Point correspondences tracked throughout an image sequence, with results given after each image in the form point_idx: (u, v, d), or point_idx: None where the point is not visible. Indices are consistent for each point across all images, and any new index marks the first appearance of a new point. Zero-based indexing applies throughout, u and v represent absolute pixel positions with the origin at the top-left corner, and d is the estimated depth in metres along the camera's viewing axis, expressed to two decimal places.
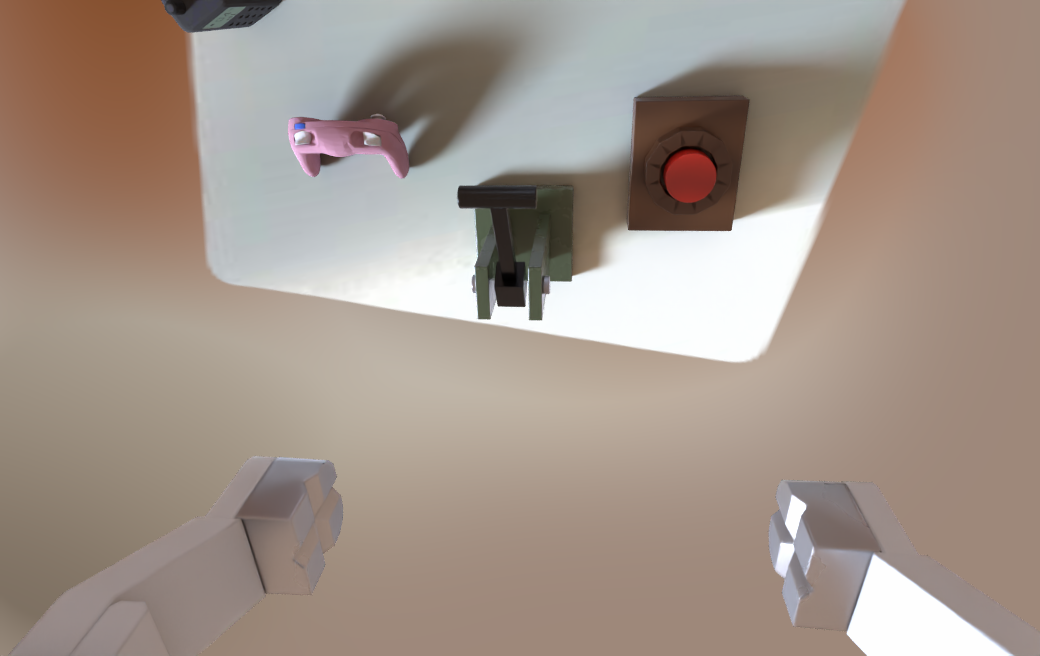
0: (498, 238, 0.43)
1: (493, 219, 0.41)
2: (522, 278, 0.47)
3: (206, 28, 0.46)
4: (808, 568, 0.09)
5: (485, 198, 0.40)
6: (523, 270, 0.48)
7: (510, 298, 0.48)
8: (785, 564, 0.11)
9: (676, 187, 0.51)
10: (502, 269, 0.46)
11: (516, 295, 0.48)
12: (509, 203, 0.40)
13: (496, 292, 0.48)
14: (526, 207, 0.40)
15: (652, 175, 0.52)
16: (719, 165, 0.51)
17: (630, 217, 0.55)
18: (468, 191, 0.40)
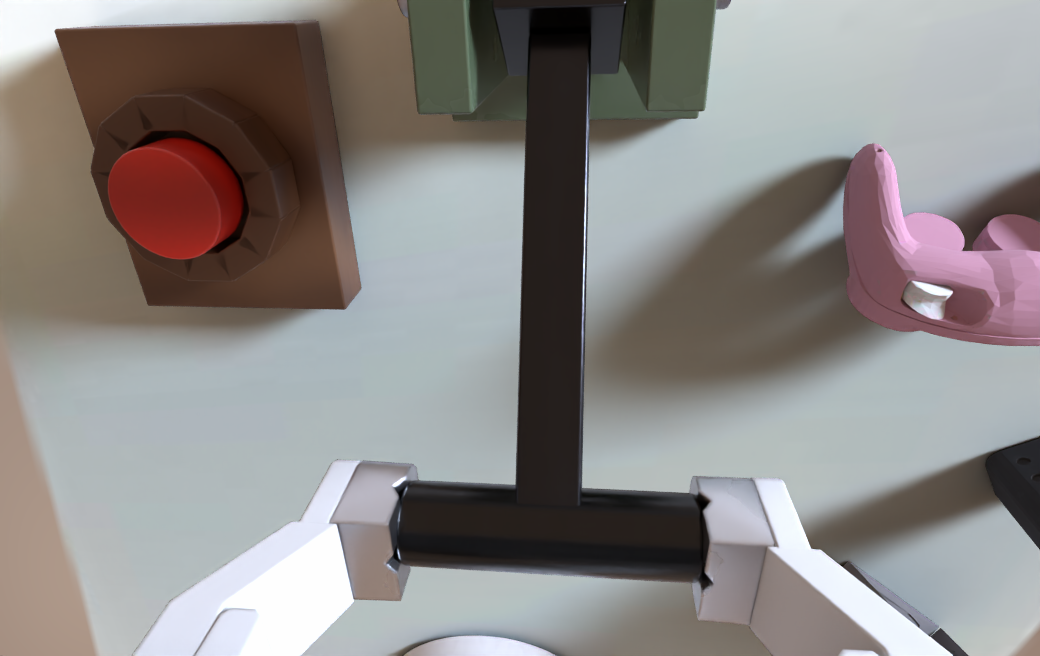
0: (572, 314, 0.10)
1: (574, 440, 0.10)
2: (502, 35, 0.11)
3: None
4: (706, 562, 0.10)
5: (589, 570, 0.10)
6: (506, 54, 0.12)
7: None
8: None
9: (187, 184, 0.21)
10: (579, 103, 0.11)
11: None
12: (496, 550, 0.10)
13: None
14: (433, 519, 0.10)
15: (260, 192, 0.23)
16: None
17: (298, 61, 0.22)
18: None
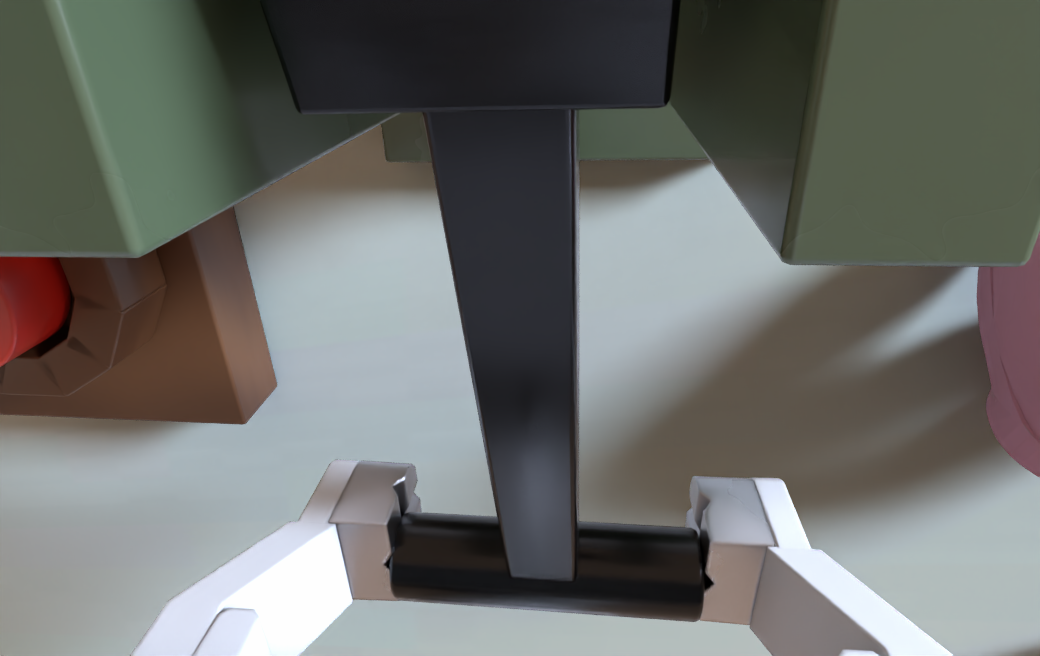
0: (558, 472, 0.08)
1: (567, 552, 0.09)
2: None
3: None
4: (707, 562, 0.10)
5: None
6: None
7: None
8: None
9: None
10: (554, 230, 0.05)
11: None
12: None
13: None
14: (426, 590, 0.10)
15: (86, 273, 0.15)
16: None
17: None
18: None
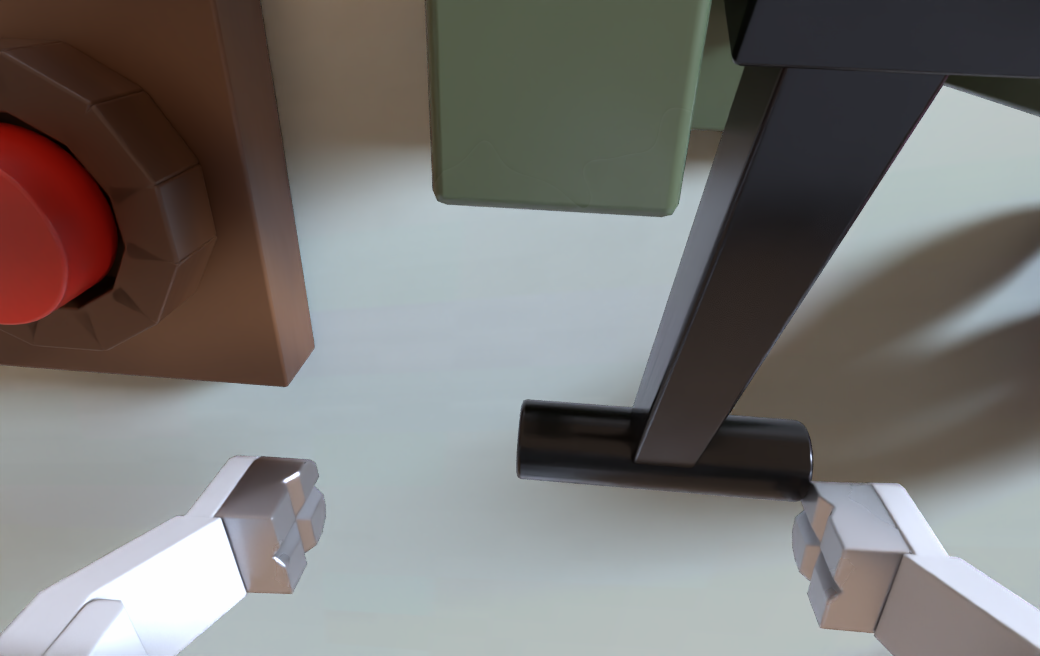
0: (733, 382, 0.08)
1: (702, 445, 0.10)
2: None
3: None
4: (836, 569, 0.09)
5: None
6: None
7: None
8: (810, 565, 0.11)
9: (2, 208, 0.12)
10: (869, 172, 0.05)
11: None
12: (610, 486, 0.11)
13: None
14: (552, 471, 0.11)
15: (141, 220, 0.14)
16: None
17: (208, 3, 0.13)
18: None
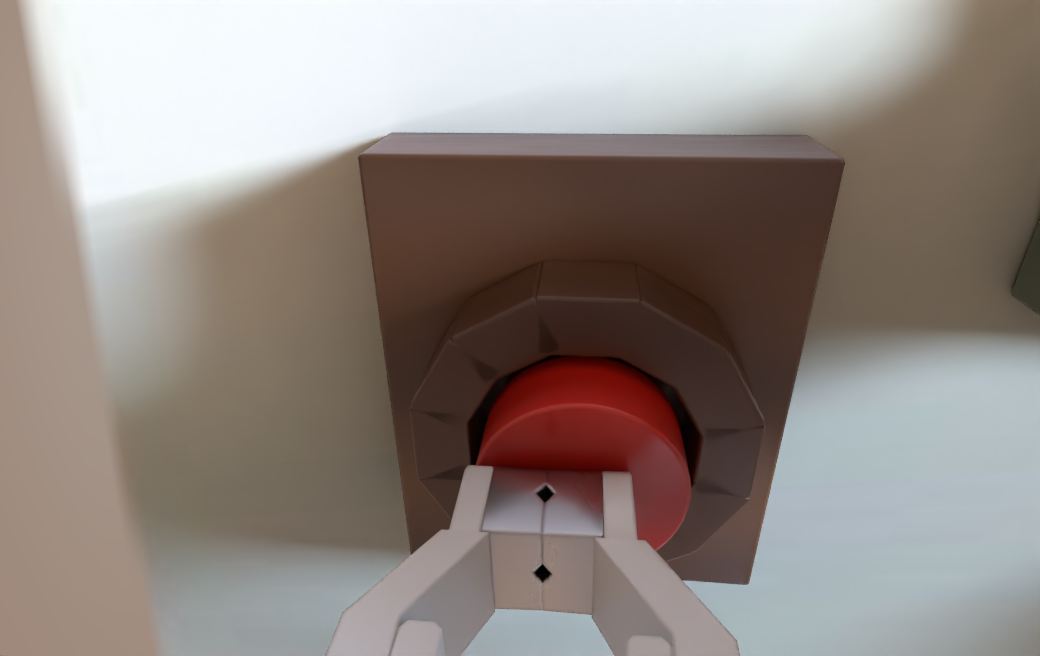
0: None
1: None
2: None
3: None
4: (542, 553, 0.10)
5: None
6: None
7: None
8: None
9: (643, 467, 0.11)
10: None
11: None
12: None
13: None
14: None
15: (729, 458, 0.12)
16: None
17: (825, 225, 0.12)
18: None
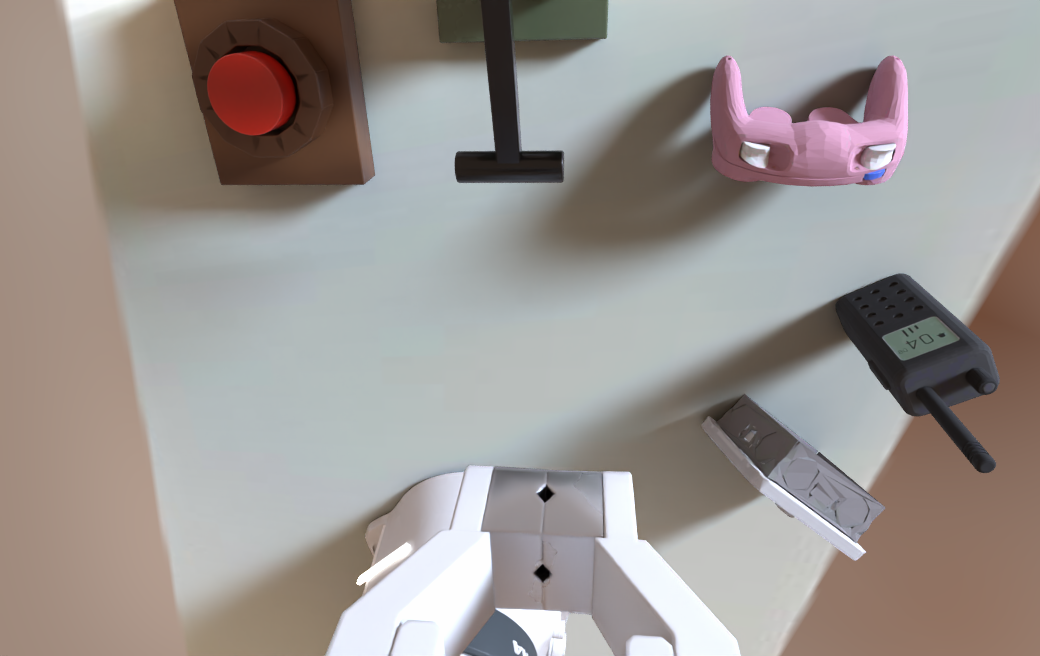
0: (510, 98, 0.26)
1: (515, 142, 0.28)
2: None
3: (953, 333, 0.32)
4: (542, 553, 0.10)
5: (524, 182, 0.29)
6: None
7: None
8: None
9: (261, 79, 0.32)
10: (504, 7, 0.24)
11: None
12: (491, 179, 0.29)
13: None
14: (468, 170, 0.29)
15: (308, 88, 0.33)
16: None
17: None
18: None
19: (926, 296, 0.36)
